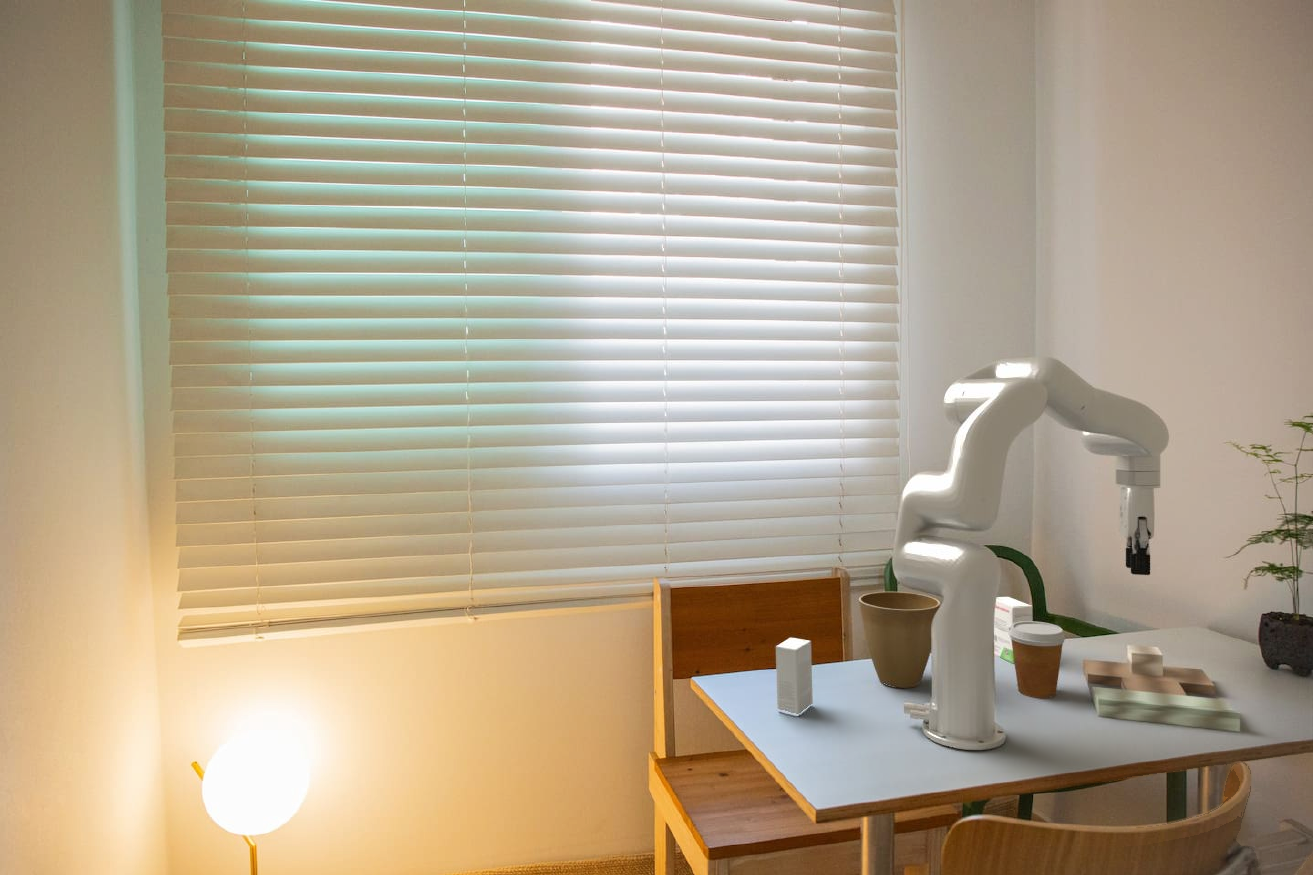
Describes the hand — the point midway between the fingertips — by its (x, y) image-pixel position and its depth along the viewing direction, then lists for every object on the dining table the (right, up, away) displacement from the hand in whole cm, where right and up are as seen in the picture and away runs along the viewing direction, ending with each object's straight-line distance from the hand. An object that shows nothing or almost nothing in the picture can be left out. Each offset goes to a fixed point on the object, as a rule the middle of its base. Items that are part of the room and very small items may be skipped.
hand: (1137, 570), depth 159 cm
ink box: (-21, -20, +10) cm, 30 cm away
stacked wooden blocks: (-6, -20, -14) cm, 26 cm away
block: (-3, -18, -7) cm, 19 cm away
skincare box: (-70, -22, -15) cm, 75 cm away
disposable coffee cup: (-25, -21, -10) cm, 34 cm away
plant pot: (-48, -21, -3) cm, 52 cm away
